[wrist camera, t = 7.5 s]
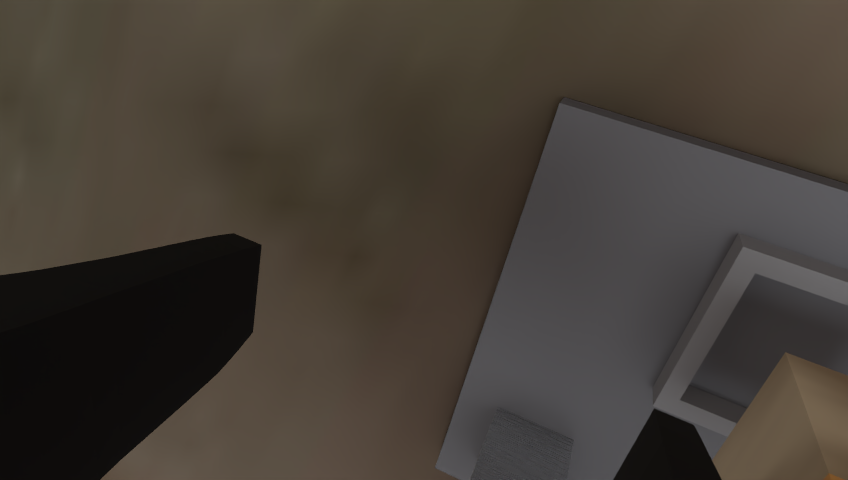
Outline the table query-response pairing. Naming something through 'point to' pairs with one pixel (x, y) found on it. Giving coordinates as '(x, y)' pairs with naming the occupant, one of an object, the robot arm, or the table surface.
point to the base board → (652, 290)
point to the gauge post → (522, 451)
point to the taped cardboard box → (791, 427)
